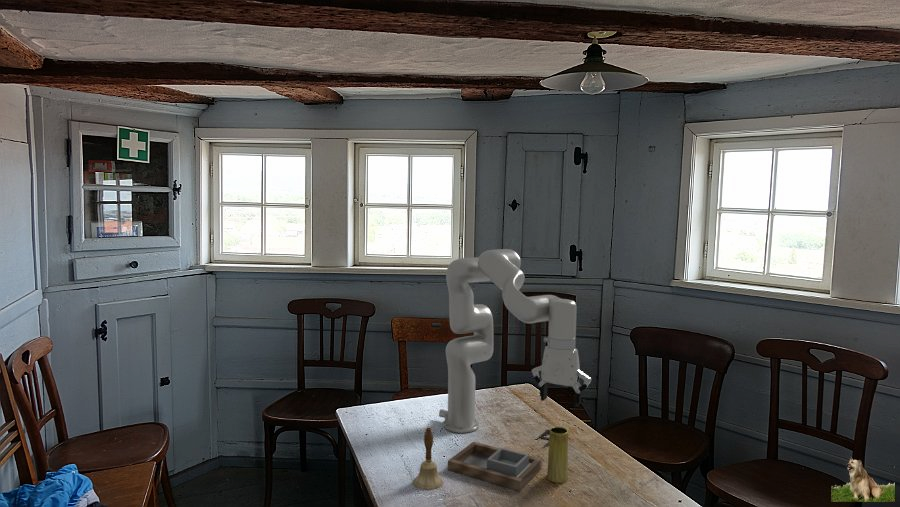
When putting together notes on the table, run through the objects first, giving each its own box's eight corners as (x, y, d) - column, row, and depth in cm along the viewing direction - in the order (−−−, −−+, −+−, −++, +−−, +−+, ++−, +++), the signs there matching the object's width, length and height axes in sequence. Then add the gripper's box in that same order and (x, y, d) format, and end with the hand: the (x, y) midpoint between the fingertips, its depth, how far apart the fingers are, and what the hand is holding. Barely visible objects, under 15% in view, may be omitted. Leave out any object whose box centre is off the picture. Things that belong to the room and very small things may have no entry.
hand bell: (446, 487, 159) (447, 432, 157) (417, 491, 156) (417, 435, 155) (438, 474, 166) (439, 420, 165) (410, 477, 164) (411, 423, 163)
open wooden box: (447, 470, 169) (447, 460, 168) (473, 450, 182) (473, 441, 182) (519, 491, 157) (520, 481, 157) (541, 468, 171) (541, 459, 170)
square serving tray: (481, 474, 165) (481, 460, 165) (499, 458, 175) (500, 445, 175) (516, 484, 160) (517, 470, 159) (533, 467, 170) (533, 453, 169)
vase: (569, 475, 167) (571, 427, 166) (566, 484, 161) (568, 435, 160) (548, 471, 169) (549, 424, 168) (544, 481, 163) (546, 432, 162)
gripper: (528, 342, 163) (526, 400, 164) (587, 350, 154) (585, 412, 155) (537, 336, 169) (536, 393, 171) (596, 344, 160) (593, 404, 162)
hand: (560, 402), depth 163 cm, fingers open, 9 cm apart
